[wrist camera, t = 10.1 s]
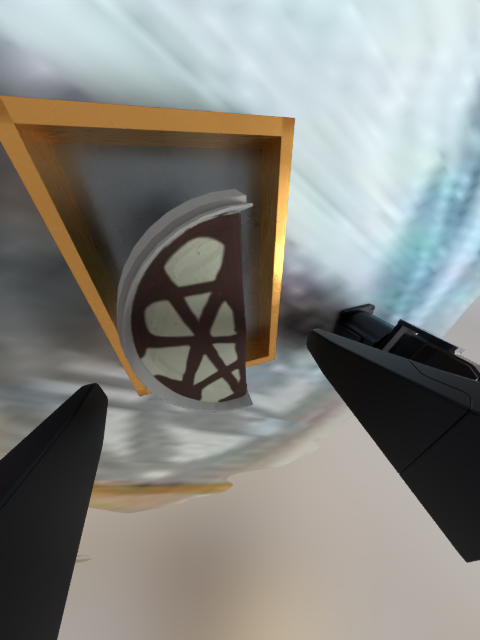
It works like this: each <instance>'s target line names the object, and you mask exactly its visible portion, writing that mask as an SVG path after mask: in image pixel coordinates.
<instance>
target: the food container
mask: <svg viewBox="0 0 480 640" xmlns="http://www.w3.org/2000/svg"><path fill="white" fill-rule="evenodd" d="M252 206H253V203H246V195H245V194H243V193H241V192H239V191H238V190H236V189H230V190H223V191H216V192H211V193H208V194H205V195H202V196H199V197H196V198H193V199H190V200H188V201H186V202H184V203H183V204H181V205H179V206H177V207H176V208H174V209H172V210H170V211H169V212H167V213H166V214H165V215H164V216H162V217H161V218H160V219H159V220H158V221H157V222H155V223H154V224H153V225H152V226H151V227H150V228H149V229H148V230H147V231H146V232H145V234H144V235H143V236H142V237H141V239H140V240H139V241H138V242H137V244H136V245H135V246H134V248H133V250H132V252H131V254H130V256H129V258H128V260H127V262H126V263H125V265H124V268H123V271H122V275H121V278H120V282H119V286H118V295H117V328H118V334H119V341H120V344H121V347H122V349H123V352H124V355H125V357H126V359H127V361H128V362H129V365H130V367H131V369H132V370H133V372H134V373H135V375H136V376H137V378H138V379H139V381H140V382H141V383H142V384H143V385H144V386H145V387H146V388H147V389H148V390H149V391H150V392H152V393H153V394H155V395H156V396H158V397H159V398H161V399H162V400H164V401H166V402H168V403H171V404H173V405H175V406H178V407H182V408H185V409H189V410H195V411H201V412H222V411H231V410H237V409H242V408H245V407H249V406H253V403H252V401H251V398H250V396H249V393H248V390H247V384H246V319H245V306H244V288H243V262H242V232H241V212H240V211H242V210H245V209H247V208H250V207H252Z"/></svg>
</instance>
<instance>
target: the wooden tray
mask: <svg viewBox="0 0 480 640" xmlns="http://www.w3.org/2000/svg"><path fill="white" fill-rule="evenodd" d="M294 123H295V118H288V117H275V116H262V115H249V114H236V113H222V112H209V111H196V110H183V109H170V108H156V107H143V106H130V105H117V104H104V103H91V102H77V101H64V100H51V99H38V98H25V97H12V96H0V141H1V143H2V145H3V147H4V149H5V150H6V152H7V154H8V156H9V158H10V160H11V161H12V163H13V165H14V167H15V169H16V171H17V172H18V174H19V176H20V178H21V180H22V182H23V183H24V185H25V187H26V189H27V191H28V193H29V194H30V196H31V198H32V200H33V202H34V204H35V205H36V207H37V209H38V211H39V213H40V215H41V216H42V218H43V220H44V222H45V224H46V226H47V227H48V229H49V231H50V233H51V235H52V237H53V239H54V240H55V242H56V244H57V246H58V248H59V250H60V251H61V253H62V255H63V257H64V259H65V261H66V262H67V264H68V266H69V268H70V270H71V272H72V273H73V275H74V277H75V279H76V281H77V283H78V284H79V286H80V288H81V290H82V292H83V294H84V295H85V297H86V299H87V301H88V303H89V305H90V306H91V308H92V310H93V312H94V314H95V316H96V317H97V319H98V321H99V323H100V325H101V327H102V328H103V330H104V332H105V334H106V336H107V338H108V339H109V341H110V343H111V345H112V347H113V349H114V350H115V352H116V354H117V356H118V358H119V360H120V362H121V363H122V365H123V367H124V369H125V371H126V373H127V374H128V376H129V378H130V380H131V382H132V384H133V385H134V387H135V389H136V391H137V393H138V395H139V396H143V395H147V394H150V393H152V392H150V391H149V390H148V389H147V388H146V387H145V386H144V385H143V384H142V383H141V382H140V381H139V379H138V378H137V376H136V375H135V373H134V372H133V370H132V369H131V367H130V365H129V362H128V361H127V359H126V357H125V355H124V352H123V349H122V347H121V344H120V341H119V334H118V328H117V295H118V286H119V282H120V278H121V275H122V271H123V268H124V265H125V263H126V262H127V260H128V258H129V256H130V254H131V252H132V250H133V248H134V246H135V245H136V244H137V242H138V241H139V240H140V239H141V237H142V236H143V235H144V234H145V232H146V231H147V230H148V229H149V228H150V227H151V226H152V225H153V224H154V223H155V222H157V221H158V220H159V219H160V218H161V217H162V216H164V215H165V214H166V213H167V212H169V211H170V210H172V209H174V208H176V207H177V206H179V205H181V204H183V203H184V202H186V201H188V200H190V199H193V198H196V197H199V196H202V195H205V194H208V193H211V192H216V191H223V190H230V189H236V190H238V191H239V192H241V193H243V194H245V195H246V203H253V206H252V207H250V208H247V209H245V210H242V211H240V212H241V232H242V262H243V288H244V306H245V319H246V367H249V366H253V365H256V364H260V363H264V362H267V361H271V360H275V351H276V339H277V327H278V315H279V303H280V291H281V279H282V267H283V255H284V243H285V231H286V219H287V207H288V195H289V183H290V171H291V159H292V147H293V135H294Z"/></svg>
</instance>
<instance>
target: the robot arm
mask: <svg viewBox="0 0 480 640" xmlns="http://www.w3.org/2000/svg"><path fill="white" fill-rule="evenodd" d="M374 309H375V306H374V305H367V306H363V307H358V308H354V309H349V310H345V311H342V312H341V313H340V315H339V319H338V322H337V325H336V329H335V332H334V334H333V333H330V332H327V331H324V330H321V329H313V330H310V331H309V333H308V338H307V348H308V350H309V351H310V353H311V355H312V356H313V358H314V360H315V361H316V363H317V364H318V366H319V368H320V369H321V371H322V372H323V374H324V375H325V377H326V378H327V379H328V381H329V382H330V383H331V385H332V386H333V387H334V389H335V390H336V391H337V393H338V394H339V395H340V397H341V398H342V399H343V401H344V402H345V403H346V405H347V406H348V407H349V409H350V410H351V411H352V413H353V414H354V415H355V416H356V418H357V419H358V420H359V422H360V423H361V424H362V426H363V427H364V428H365V430H366V431H367V432H368V433H369V435H370V436H371V438H372V439H373V440H374V441H375V443H376V444H377V446H378V447H379V448H380V449H381V451H382V452H383V454H384V455H385V456H386V457H387V459H388V460H389V461H390V463H391V464H392V465H393V466H394V468H395V469H396V470H397V472H398V473H399V475H400V476H401V477H402V479H403V480H404V481H405V483H406V484H407V485H408V487H409V488H410V489H411V491H412V492H413V493H414V495H415V496H416V497H417V499H418V500H419V501H420V503H421V504H422V505H423V507H424V508H425V509H426V511H427V512H428V513H429V514H430V516H431V517H432V519H433V520H434V521H435V522H436V524H437V525H438V526H439V528H440V529H441V530H442V532H443V533H444V534H445V536H446V537H447V538H448V540H449V541H450V542H451V544H452V545H453V546H454V547H455V549H456V550H457V551H458V553H459V554H460V555H461V556H462V558H463V559H464V560H465V561H466V562H467V563H468V562H473V561H478V560H480V365H478V364H476V363H474V362H472V361H471V360H469V359H467V358H464V357H462V356H461V355H459V354H461V353H462V352H463V351H464V349H462V348H460V347H458V346H456V345H454V344H452V343H450V342H448V341H446V340H444V339H442V338H440V337H438V336H436V335H434V334H432V333H430V332H428V331H426V330H424V329H421V328H419V327H417V326H415V325H413V324H410V323H408V322H406V321H404V320H401V319H400V320H399V321H398V324H397V325H396V326H393V325H391V324H389V323H387V322H385V321H383V320H382V319H380V318H378V317H376V316H374V315H372V314H373V311H374ZM416 333H418V334H417V335H415V334H416ZM107 406H108V398H107V396H106V394H105V393H104V392H103V390H102V389H101V387H100V386H99V385H98V384H97V383H92V384H88V385H84V386H82V387H81V388H80V389H78V390H77V391H76V392H75V393H74V394H73V395H72V396H71V397H70V398H69V399H67V400H66V401H65V402H64V403H63V404H62V405H61V406H60V407H59V408H58V409H56V410H55V411H54V412H53V413H52V414H51V415H50V416H49V417H48V418H46V419H45V420H44V421H43V422H42V423H41V424H40V425H39V426H38V427H37V428H35V429H34V430H33V431H32V432H31V433H30V434H29V435H28V436H27V437H26V438H24V439H23V440H22V441H21V442H20V443H19V444H18V445H17V446H16V447H14V448H13V449H12V450H11V451H10V452H9V453H8V454H7V455H6V456H5V457H3V458H2V459H1V460H0V640H57V638H58V633H59V629H60V625H61V621H62V616H63V612H64V608H65V603H66V599H67V595H68V591H69V586H70V582H71V578H72V573H73V570H74V565H75V561H76V557H77V553H78V548H79V544H80V540H81V536H82V531H83V527H84V523H85V518H86V514H87V510H88V506H89V501H90V497H91V493H92V489H93V484H94V480H95V476H96V472H97V467H98V463H99V459H100V455H101V450H102V445H103V439H104V431H105V423H106V414H107Z"/></svg>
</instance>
